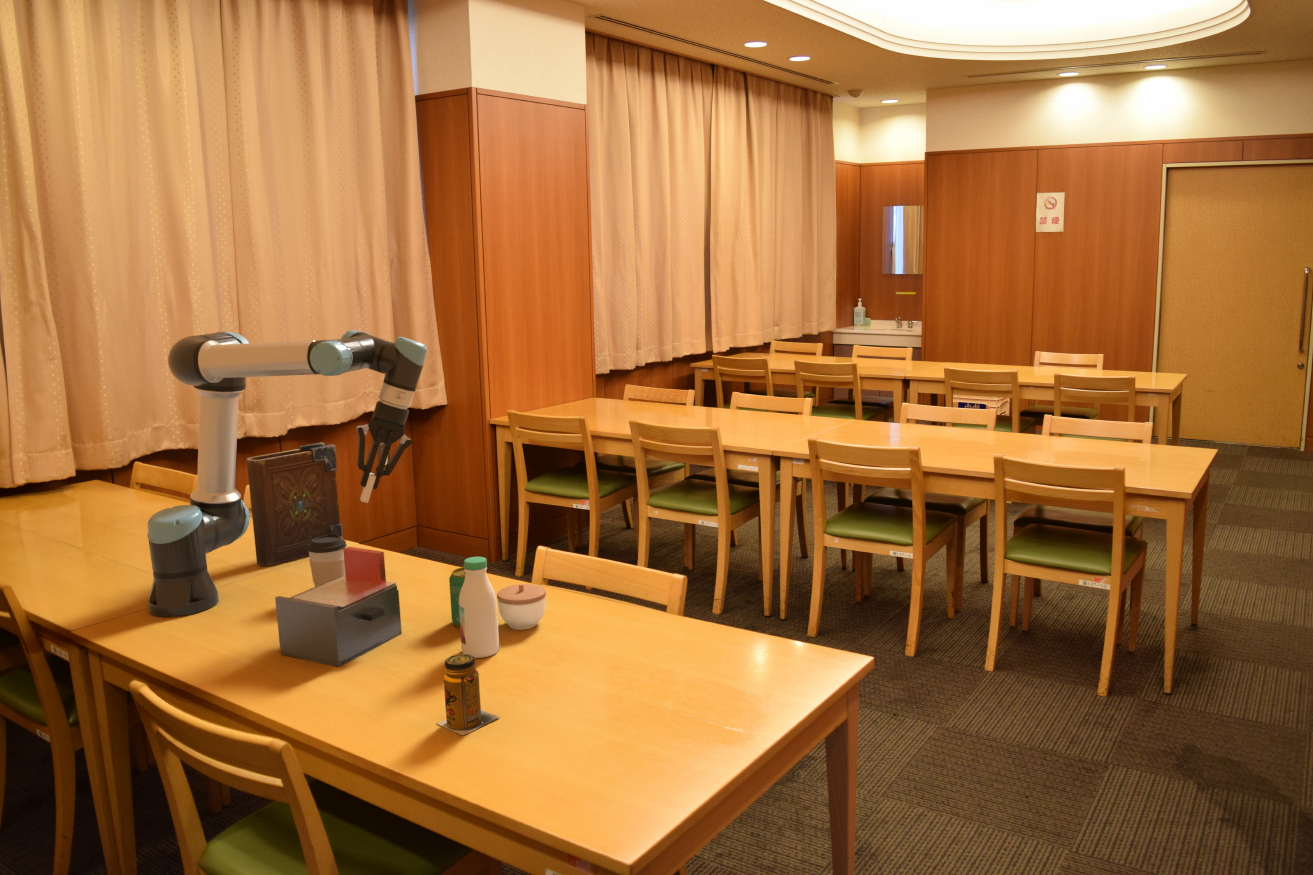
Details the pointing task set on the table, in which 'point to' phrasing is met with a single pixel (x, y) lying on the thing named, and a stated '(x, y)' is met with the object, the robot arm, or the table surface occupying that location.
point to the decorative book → (293, 501)
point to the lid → (353, 580)
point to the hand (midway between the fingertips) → (364, 500)
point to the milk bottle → (478, 611)
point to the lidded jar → (522, 605)
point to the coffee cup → (326, 558)
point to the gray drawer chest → (337, 627)
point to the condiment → (463, 696)
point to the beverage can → (456, 593)
